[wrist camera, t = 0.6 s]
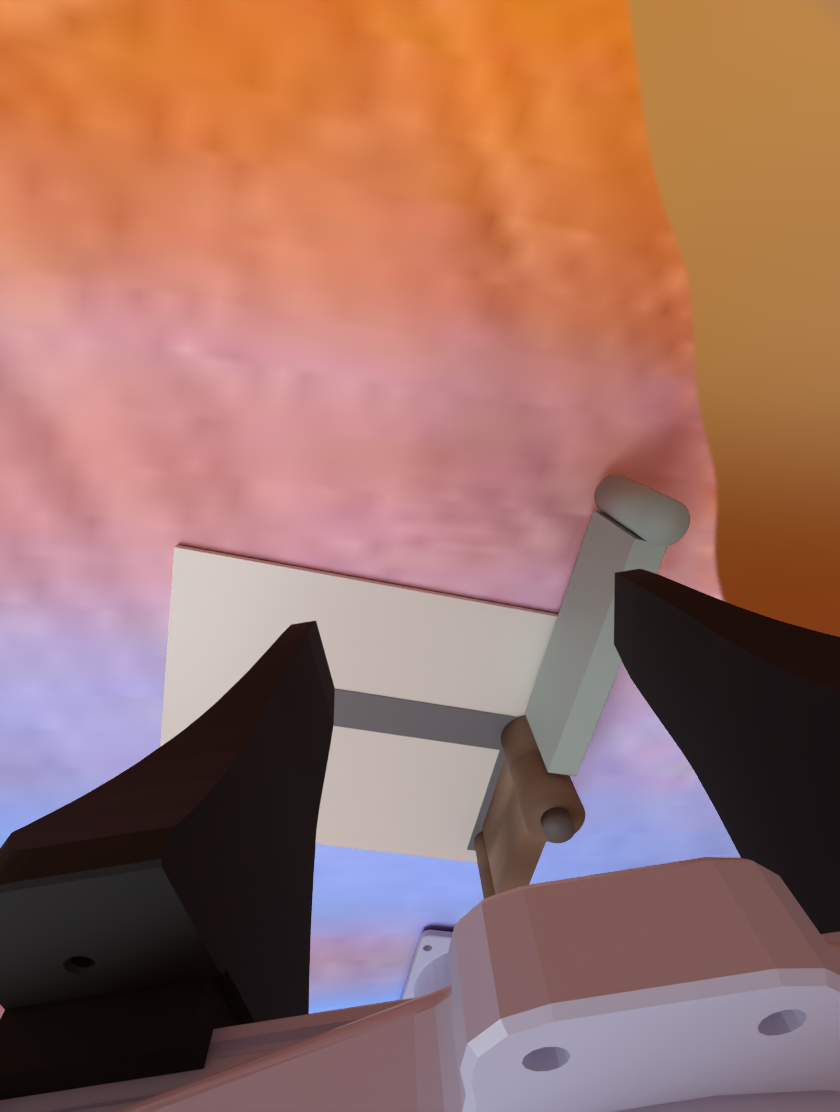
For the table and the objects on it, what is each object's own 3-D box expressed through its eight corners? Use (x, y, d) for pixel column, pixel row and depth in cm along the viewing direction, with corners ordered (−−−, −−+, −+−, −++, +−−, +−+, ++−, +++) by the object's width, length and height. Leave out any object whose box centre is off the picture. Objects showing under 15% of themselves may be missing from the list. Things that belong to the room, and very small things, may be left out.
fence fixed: (506, 853, 28) (533, 965, 23) (463, 848, 28) (480, 960, 22) (555, 719, 25) (599, 811, 20) (507, 711, 25) (539, 803, 20)
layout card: (531, 864, 29) (533, 870, 28) (157, 820, 26) (154, 826, 26) (624, 626, 24) (627, 629, 24) (176, 544, 22) (173, 547, 21)
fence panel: (553, 717, 25) (584, 784, 21) (520, 712, 24) (546, 779, 20) (639, 479, 21) (697, 504, 17) (601, 471, 21) (652, 494, 17)
